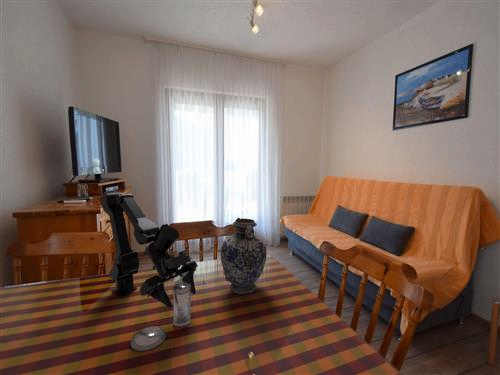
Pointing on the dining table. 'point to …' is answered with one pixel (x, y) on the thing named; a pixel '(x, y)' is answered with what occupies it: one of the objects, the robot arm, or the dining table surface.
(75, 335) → the dining table surface
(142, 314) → the dining table surface
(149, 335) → the silver flat disc
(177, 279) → the valve
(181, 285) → the grey piece
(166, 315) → the dining table surface
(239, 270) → the decorative vase
